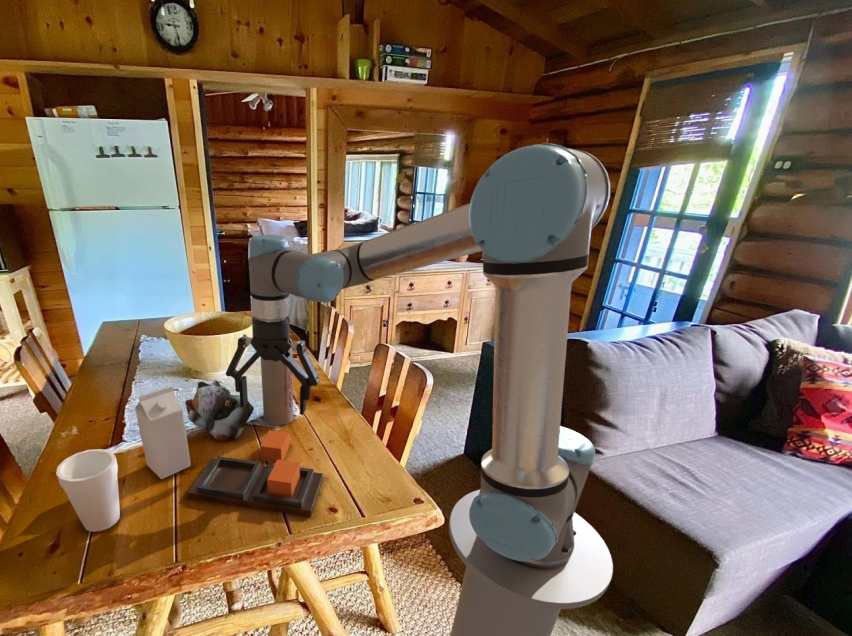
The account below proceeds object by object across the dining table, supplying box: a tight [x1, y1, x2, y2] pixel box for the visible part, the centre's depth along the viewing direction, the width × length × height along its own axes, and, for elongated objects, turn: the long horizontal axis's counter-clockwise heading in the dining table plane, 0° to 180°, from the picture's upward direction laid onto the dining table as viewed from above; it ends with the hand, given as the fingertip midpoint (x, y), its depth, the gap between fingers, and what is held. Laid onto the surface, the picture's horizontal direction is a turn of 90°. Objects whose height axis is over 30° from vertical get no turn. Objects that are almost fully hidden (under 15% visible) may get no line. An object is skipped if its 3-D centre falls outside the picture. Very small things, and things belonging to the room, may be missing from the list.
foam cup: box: [55, 448, 121, 533], centre depth 81 cm, size 10×9×13 cm
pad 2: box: [267, 459, 301, 498], centre depth 91 cm, size 5×7×4 cm
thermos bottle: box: [260, 338, 294, 426], centre depth 113 cm, size 8×8×28 cm
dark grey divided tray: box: [186, 455, 324, 517], centre depth 93 cm, size 26×12×3 cm, turn 80°
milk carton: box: [134, 386, 192, 480], centre depth 95 cm, size 7×7×19 cm
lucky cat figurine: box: [184, 379, 255, 442], centre depth 111 cm, size 15×12×14 cm
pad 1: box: [259, 429, 290, 463], centre depth 104 cm, size 5×7×4 cm
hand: (273, 408), depth 98 cm, fingers open, 13 cm apart
